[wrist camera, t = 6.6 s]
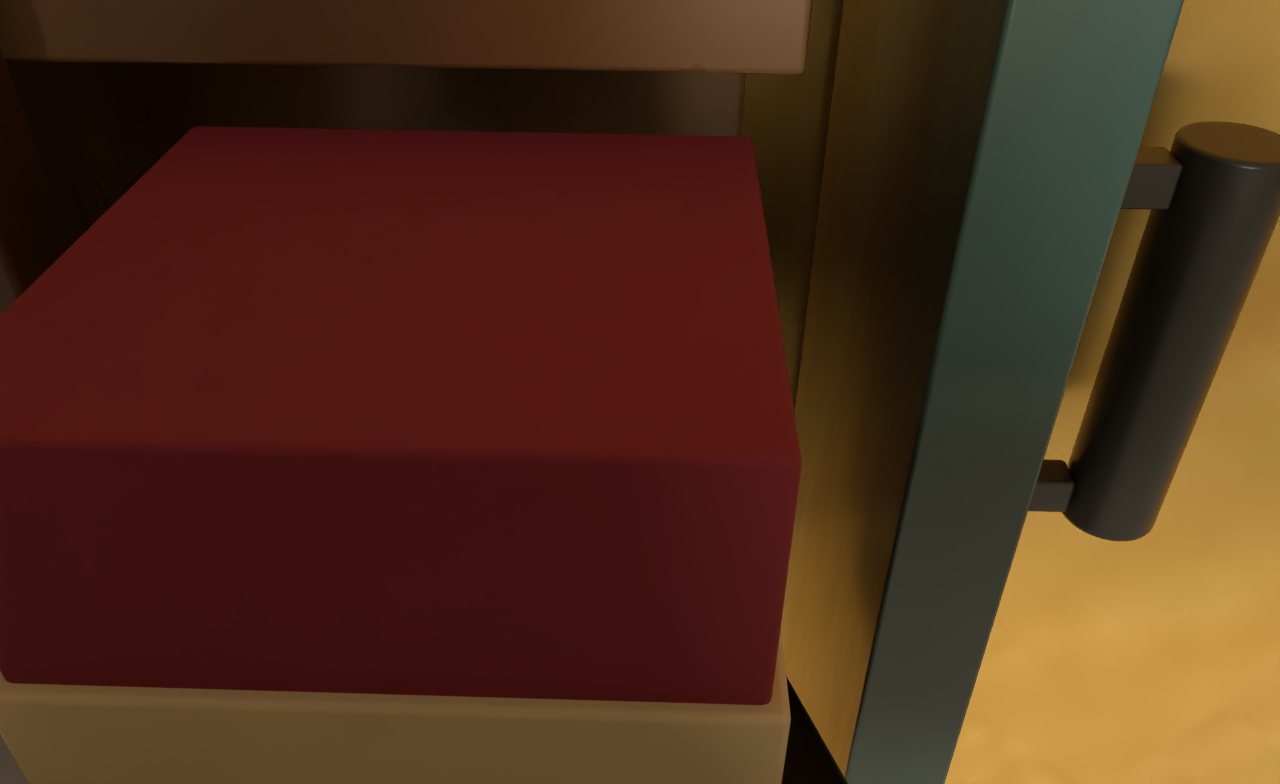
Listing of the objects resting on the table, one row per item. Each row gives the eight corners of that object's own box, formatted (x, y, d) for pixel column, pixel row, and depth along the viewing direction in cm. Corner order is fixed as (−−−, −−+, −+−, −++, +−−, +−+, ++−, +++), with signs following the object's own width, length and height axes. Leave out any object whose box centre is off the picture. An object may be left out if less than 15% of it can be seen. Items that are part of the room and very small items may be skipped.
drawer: (1330, -233, 12) (1897, -136, 6) (1051, 580, 20) (1197, 942, 14) (82, -247, 12) (-408, -164, 7) (296, 562, 20) (152, 908, 14)
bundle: (707, 843, 13) (717, 1221, 10) (367, 833, 13) (269, 1203, 10) (765, 134, 8) (829, 477, 4) (177, 122, 8) (-172, 450, 5)
